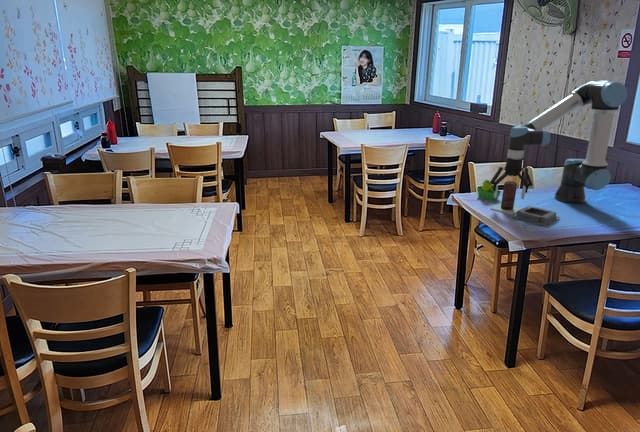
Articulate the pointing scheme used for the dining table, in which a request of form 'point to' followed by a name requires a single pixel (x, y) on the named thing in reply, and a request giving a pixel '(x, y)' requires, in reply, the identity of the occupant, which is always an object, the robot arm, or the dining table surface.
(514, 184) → the can
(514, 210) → the mat
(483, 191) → the fruit basket
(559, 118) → the robot arm
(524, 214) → the socket block
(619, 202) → the dining table surface
